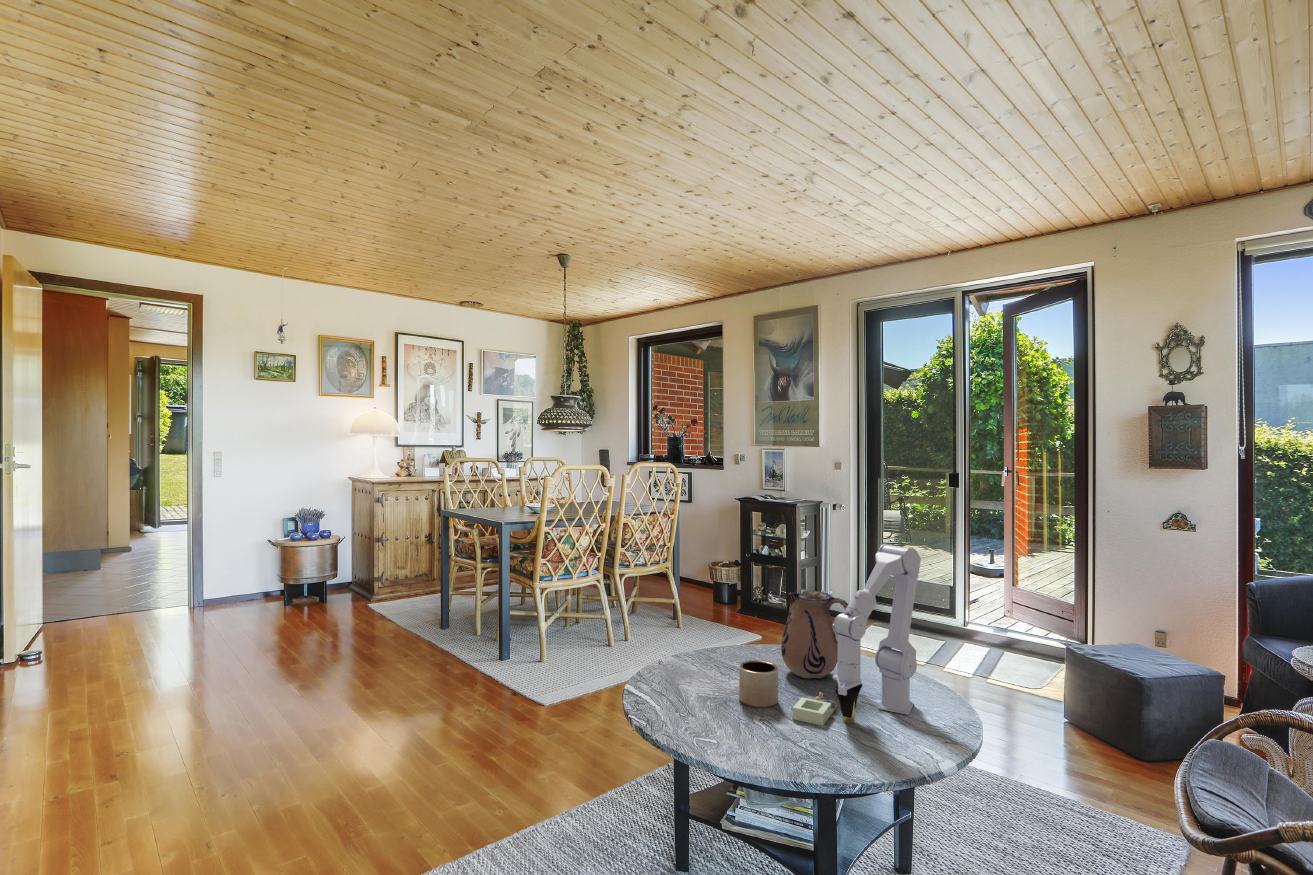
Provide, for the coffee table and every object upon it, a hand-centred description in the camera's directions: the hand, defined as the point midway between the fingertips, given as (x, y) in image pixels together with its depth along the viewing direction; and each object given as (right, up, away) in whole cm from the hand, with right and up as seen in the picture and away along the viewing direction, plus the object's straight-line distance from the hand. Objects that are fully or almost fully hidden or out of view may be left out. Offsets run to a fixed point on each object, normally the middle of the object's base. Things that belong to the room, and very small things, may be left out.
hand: (848, 713), depth 165 cm
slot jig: (-7, -2, +5) cm, 9 cm away
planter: (-21, -2, +13) cm, 25 cm away
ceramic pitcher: (0, -3, +34) cm, 35 cm away
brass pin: (0, -2, 0) cm, 2 cm away
